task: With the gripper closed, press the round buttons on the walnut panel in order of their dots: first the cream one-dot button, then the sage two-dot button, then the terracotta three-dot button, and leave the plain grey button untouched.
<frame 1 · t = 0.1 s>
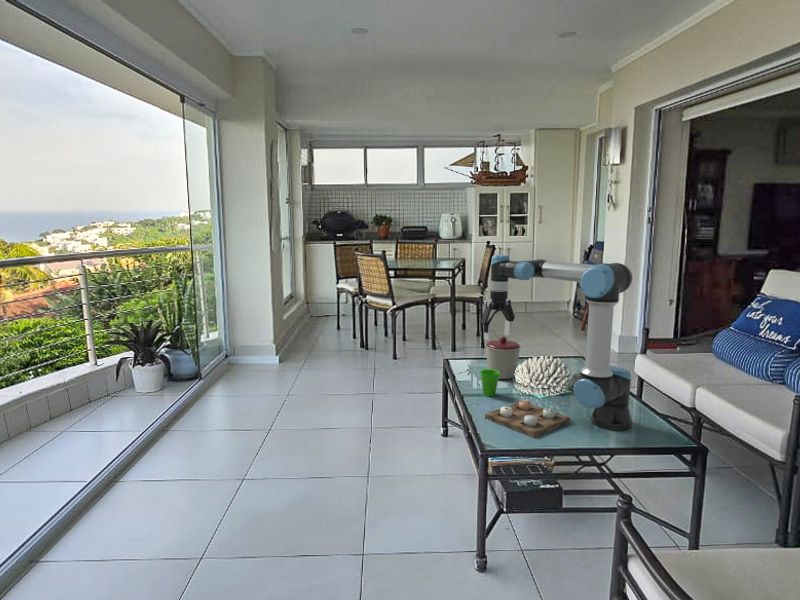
hand: (497, 337, 242), 28 cm above the table, tool pointing down, fingers open, 13 cm apart
mineral rock: (580, 391, 256), on the table
cup: (489, 395, 250), on the table
button one: (506, 411, 220), point 3 cm above the table, slide at 0.0 cm
button two: (549, 413, 219), point 3 cm above the table, slide at 0.0 cm
button blank: (530, 421, 211), point 3 cm above the table, slide at 0.0 cm
panel: (527, 420, 220), on the table
canister: (501, 377, 277), on the table
button three: (524, 405, 228), point 3 cm above the table, slide at 0.0 cm
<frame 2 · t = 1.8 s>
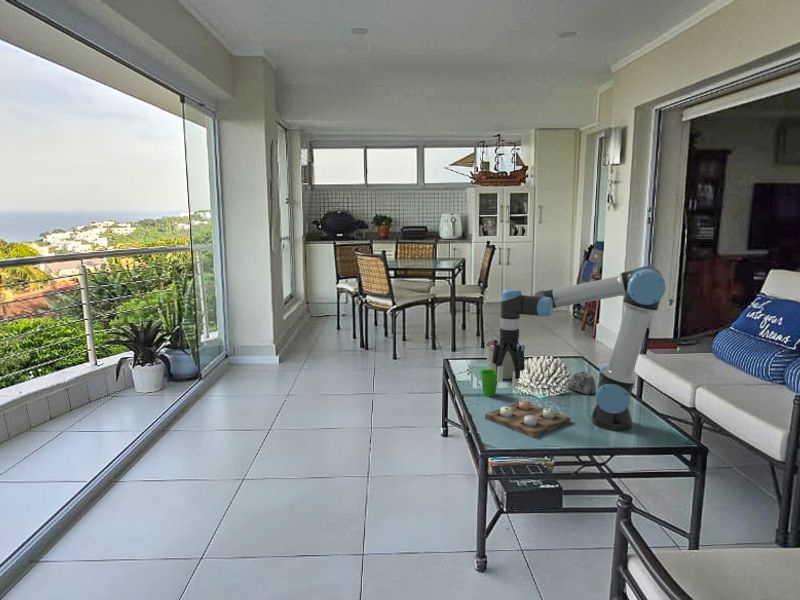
hand: (507, 383, 218), 15 cm above the table, tool pointing down, fingers open, 7 cm apart
nothing on the table moved.
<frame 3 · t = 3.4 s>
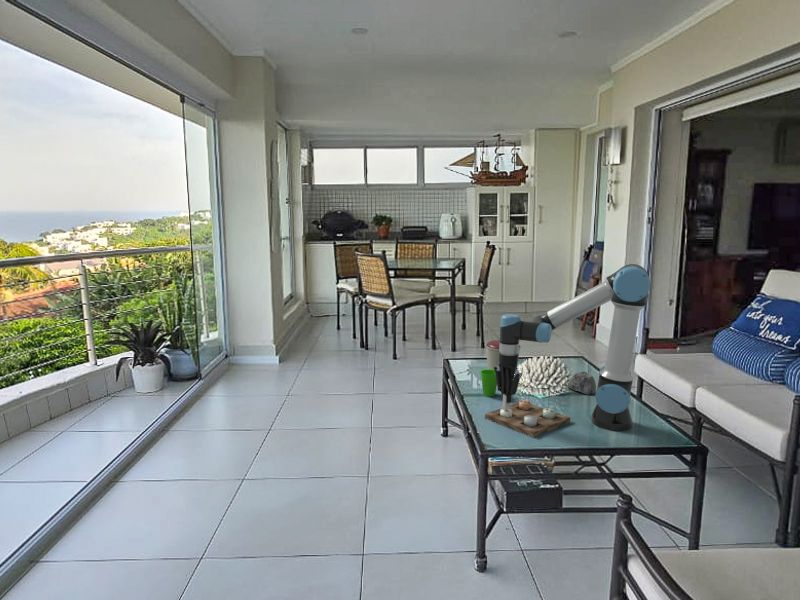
hand: (505, 409, 220), 4 cm above the table, tool pointing down, fingers closed
button one: (506, 413, 221), point 2 cm above the table, slide at 0.8 cm, touching gripper
everything else where it was.
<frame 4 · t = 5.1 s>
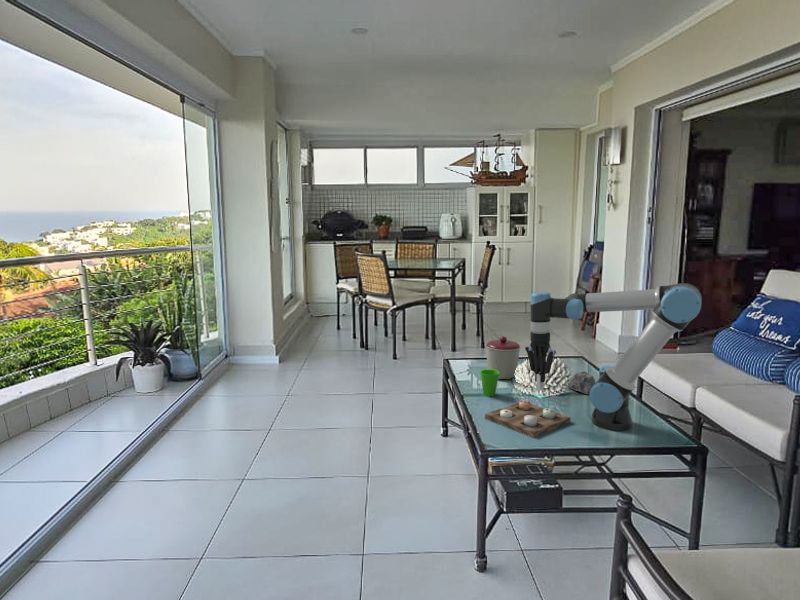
hand: (540, 389, 217), 13 cm above the table, tool pointing down, fingers closed
button one: (506, 414, 221), point 2 cm above the table, slide at 1.3 cm
everything else where it was.
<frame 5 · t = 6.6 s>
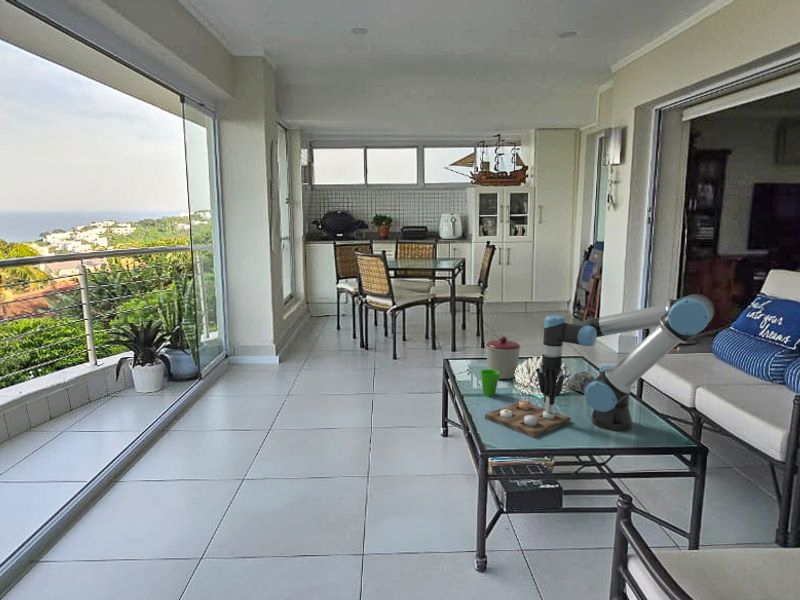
hand: (548, 411, 219), 4 cm above the table, tool pointing down, fingers closed
button two: (548, 415, 219), point 2 cm above the table, slide at 0.9 cm, touching gripper
everything else where it was.
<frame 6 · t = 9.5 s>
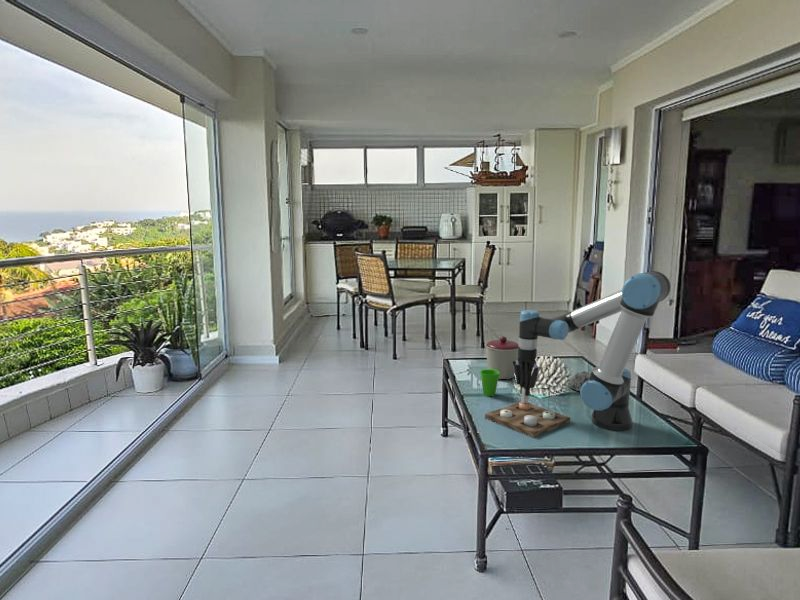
hand: (524, 402, 228), 5 cm above the table, tool pointing down, fingers closed
button two: (548, 416, 219), point 2 cm above the table, slide at 1.3 cm
button three: (524, 406, 228), point 3 cm above the table, slide at 0.5 cm, touching gripper
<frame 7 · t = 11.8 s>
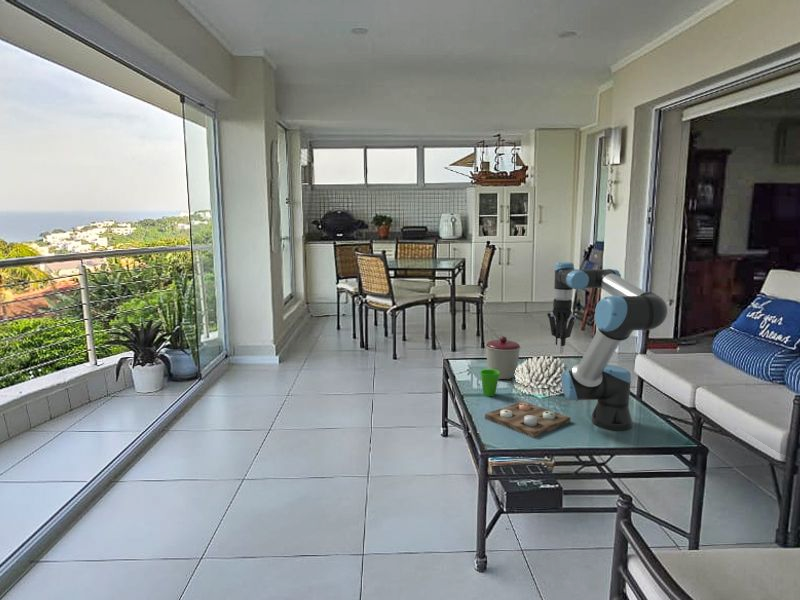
hand: (559, 352, 234), 23 cm above the table, tool pointing down, fingers closed
button three: (524, 408, 228), point 2 cm above the table, slide at 1.3 cm
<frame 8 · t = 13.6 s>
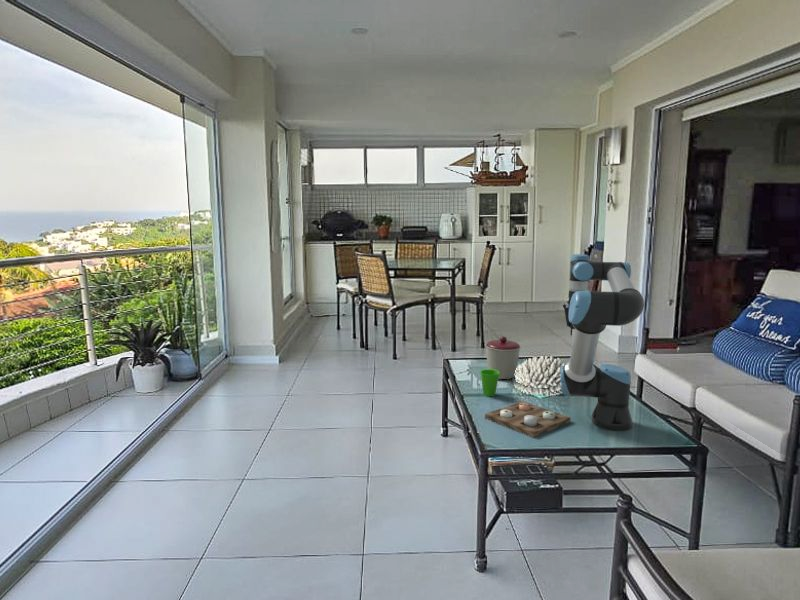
hand: (574, 343, 239), 26 cm above the table, tool pointing down, fingers closed
at the end: button one slide at 1.3 cm; button two slide at 1.3 cm; button three slide at 1.3 cm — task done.
